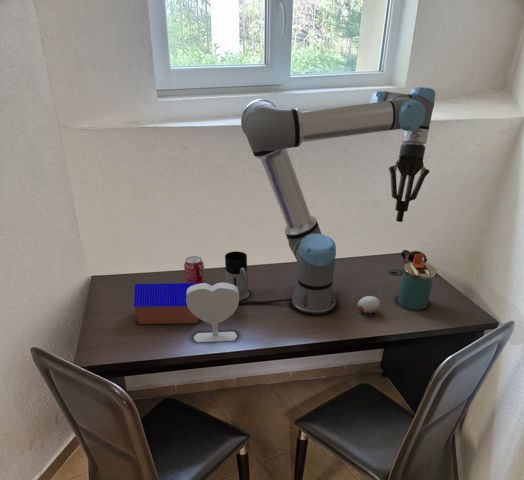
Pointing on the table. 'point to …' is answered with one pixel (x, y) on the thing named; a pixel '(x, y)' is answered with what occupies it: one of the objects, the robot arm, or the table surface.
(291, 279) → the table surface
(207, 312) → the heart sculpture
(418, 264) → the slider
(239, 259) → the grey coffee mug
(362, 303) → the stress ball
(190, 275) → the soda can
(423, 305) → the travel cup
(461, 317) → the table surface
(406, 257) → the pottery mug
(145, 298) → the house
